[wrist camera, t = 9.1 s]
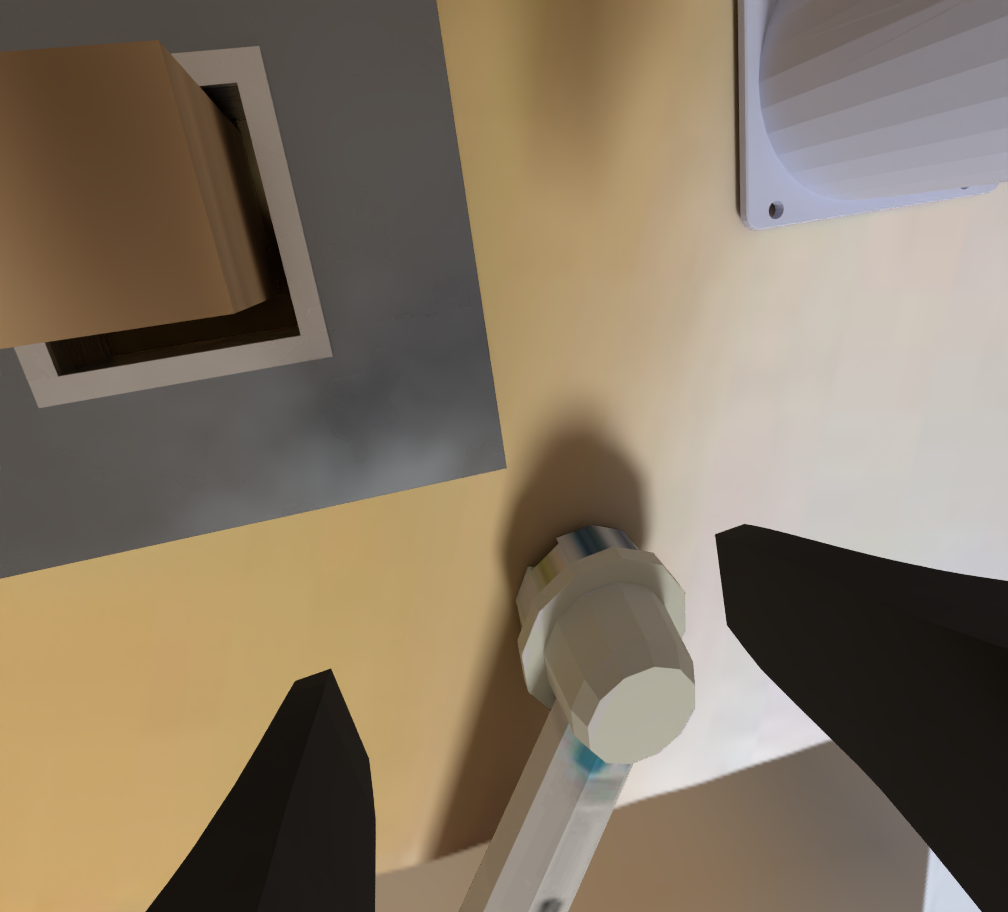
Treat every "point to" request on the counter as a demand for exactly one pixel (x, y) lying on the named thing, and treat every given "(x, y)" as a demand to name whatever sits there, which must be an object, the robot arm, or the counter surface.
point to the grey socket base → (313, 288)
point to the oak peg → (120, 197)
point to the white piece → (586, 710)
